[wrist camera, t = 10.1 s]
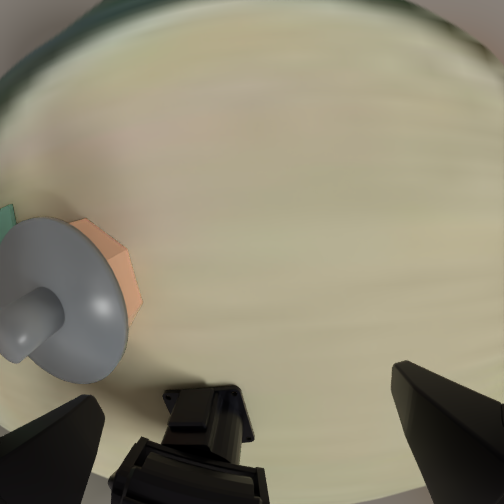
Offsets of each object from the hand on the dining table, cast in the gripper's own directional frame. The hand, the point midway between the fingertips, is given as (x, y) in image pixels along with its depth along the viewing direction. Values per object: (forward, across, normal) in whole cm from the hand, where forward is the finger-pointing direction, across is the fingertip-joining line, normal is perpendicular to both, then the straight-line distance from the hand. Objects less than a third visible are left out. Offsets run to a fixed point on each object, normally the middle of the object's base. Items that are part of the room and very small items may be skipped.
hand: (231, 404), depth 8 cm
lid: (+8, +13, -1) cm, 16 cm away
